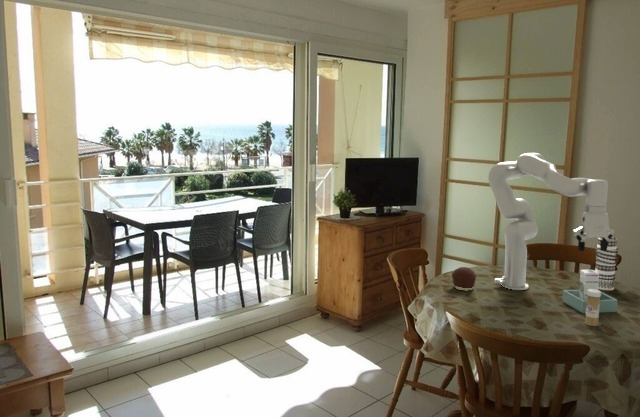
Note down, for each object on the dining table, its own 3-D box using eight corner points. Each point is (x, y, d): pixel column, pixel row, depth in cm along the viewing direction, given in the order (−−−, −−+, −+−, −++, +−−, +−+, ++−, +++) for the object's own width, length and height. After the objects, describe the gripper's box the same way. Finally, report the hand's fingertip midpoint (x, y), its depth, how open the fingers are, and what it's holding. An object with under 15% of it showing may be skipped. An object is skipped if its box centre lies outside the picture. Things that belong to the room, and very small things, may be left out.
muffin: (451, 284, 244) (452, 264, 243) (475, 285, 241) (476, 265, 240) (451, 291, 233) (451, 270, 232) (476, 293, 230) (476, 272, 229)
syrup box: (597, 307, 208) (600, 273, 206) (582, 306, 209) (585, 272, 207) (592, 302, 214) (594, 269, 211) (577, 302, 214) (580, 269, 212)
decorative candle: (618, 290, 231) (622, 237, 228) (597, 290, 233) (600, 237, 229) (610, 285, 240) (614, 233, 237) (590, 284, 242) (593, 233, 238)
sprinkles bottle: (583, 324, 191) (586, 290, 189) (586, 321, 195) (588, 287, 193) (597, 327, 188) (599, 293, 186) (599, 324, 192) (602, 290, 190)
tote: (582, 313, 203) (583, 301, 203) (562, 301, 218) (563, 290, 217) (616, 311, 205) (617, 300, 204) (594, 300, 219) (595, 289, 218)
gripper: (580, 211, 201) (577, 253, 203) (621, 210, 202) (618, 251, 205) (570, 208, 208) (567, 248, 211) (609, 207, 210) (606, 247, 212)
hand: (592, 250), depth 208 cm, fingers open, 9 cm apart
